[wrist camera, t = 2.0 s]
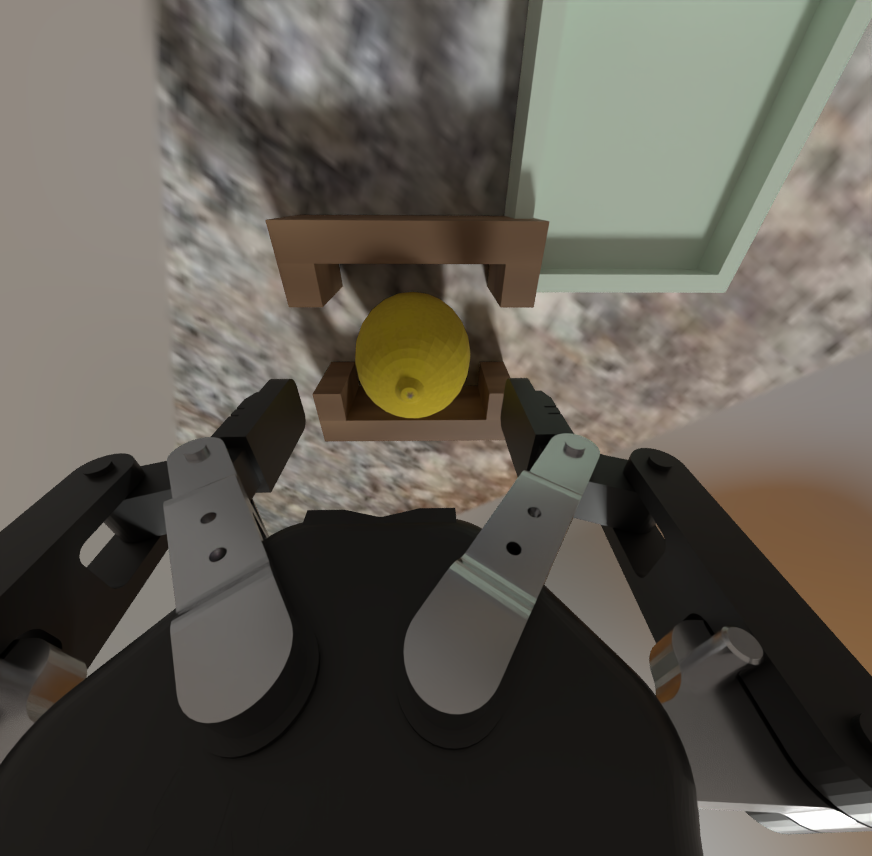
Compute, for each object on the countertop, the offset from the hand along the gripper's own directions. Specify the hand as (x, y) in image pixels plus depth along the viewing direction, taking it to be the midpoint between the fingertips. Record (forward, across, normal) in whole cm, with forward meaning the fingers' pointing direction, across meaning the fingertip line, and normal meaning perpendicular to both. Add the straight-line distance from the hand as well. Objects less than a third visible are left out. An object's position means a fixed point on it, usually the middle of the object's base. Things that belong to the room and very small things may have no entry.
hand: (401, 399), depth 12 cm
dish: (+8, -10, -8) cm, 15 cm away
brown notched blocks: (+8, 0, 0) cm, 8 cm away
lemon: (+8, 0, 0) cm, 8 cm away
